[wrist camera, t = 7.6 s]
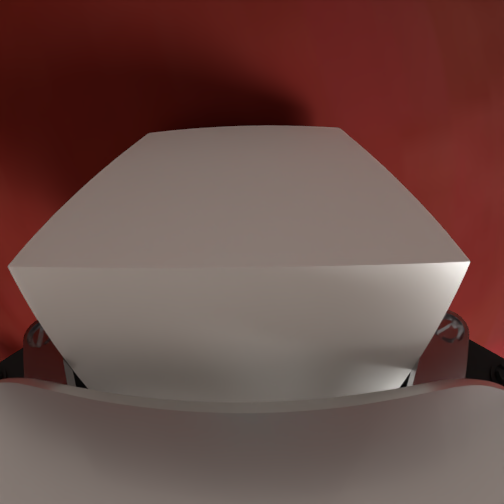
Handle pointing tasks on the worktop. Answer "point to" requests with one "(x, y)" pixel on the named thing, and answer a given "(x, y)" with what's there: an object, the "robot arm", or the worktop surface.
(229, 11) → the worktop surface
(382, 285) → the pale grey cube
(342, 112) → the worktop surface
